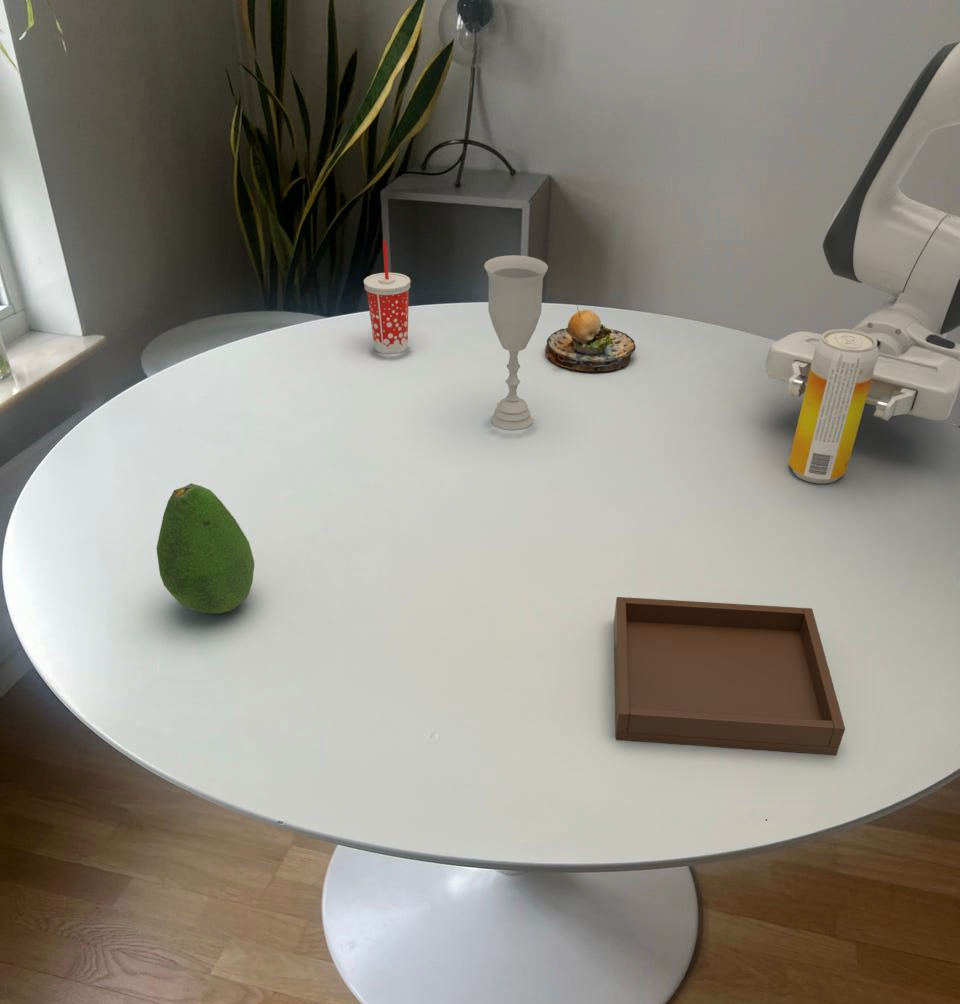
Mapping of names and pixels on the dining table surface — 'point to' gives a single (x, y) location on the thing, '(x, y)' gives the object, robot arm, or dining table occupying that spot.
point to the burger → (589, 345)
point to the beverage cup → (388, 308)
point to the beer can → (833, 404)
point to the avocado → (203, 552)
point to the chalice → (514, 324)
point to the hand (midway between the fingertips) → (836, 400)
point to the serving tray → (723, 676)
